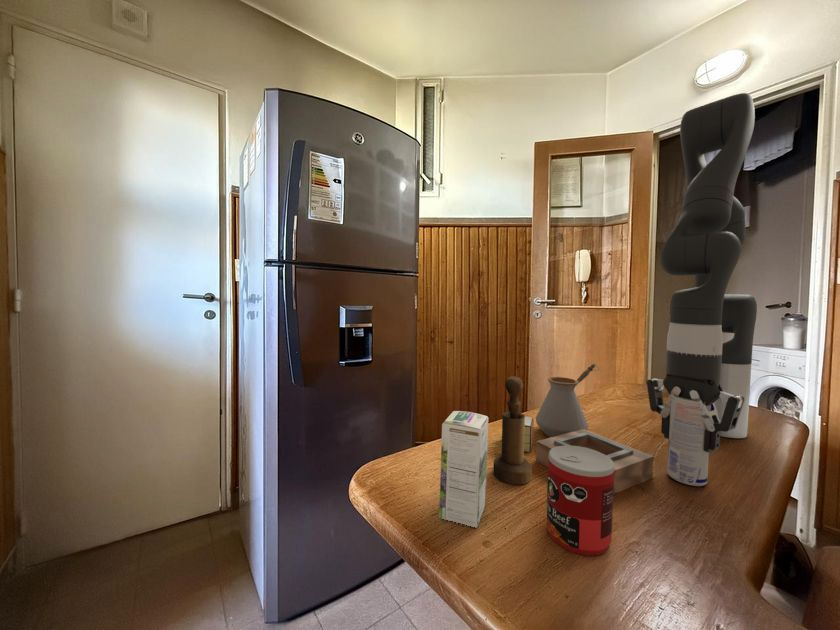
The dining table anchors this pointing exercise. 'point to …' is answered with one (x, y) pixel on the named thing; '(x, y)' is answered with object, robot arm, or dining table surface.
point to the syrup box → (463, 467)
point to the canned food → (580, 499)
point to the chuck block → (627, 460)
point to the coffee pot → (562, 407)
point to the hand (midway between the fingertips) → (688, 443)
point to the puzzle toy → (528, 434)
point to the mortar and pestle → (513, 440)
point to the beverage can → (687, 443)
